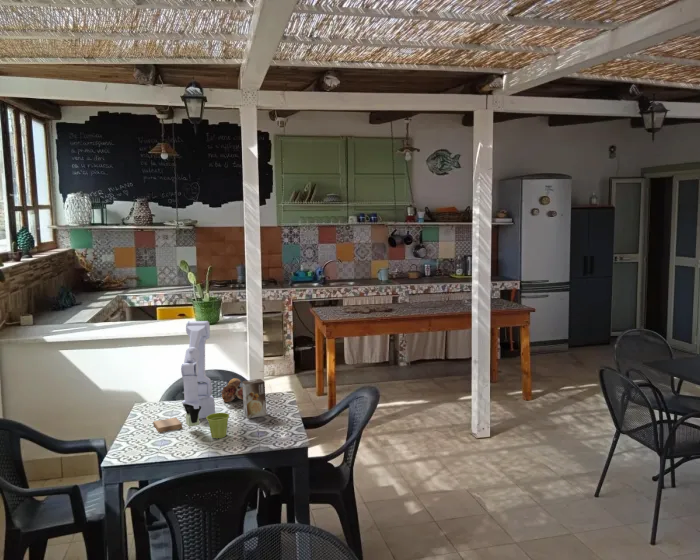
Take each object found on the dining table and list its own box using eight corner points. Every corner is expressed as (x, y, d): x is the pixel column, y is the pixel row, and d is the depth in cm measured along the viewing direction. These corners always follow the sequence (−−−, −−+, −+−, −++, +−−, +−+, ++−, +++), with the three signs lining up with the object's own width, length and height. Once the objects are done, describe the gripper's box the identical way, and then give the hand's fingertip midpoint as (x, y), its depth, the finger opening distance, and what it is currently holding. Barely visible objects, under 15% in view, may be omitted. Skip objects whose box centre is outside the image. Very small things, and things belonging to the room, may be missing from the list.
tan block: (176, 422, 275) (176, 417, 275) (182, 429, 267) (181, 423, 266) (153, 426, 270) (153, 421, 270) (158, 433, 262) (158, 428, 261)
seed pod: (209, 393, 295) (238, 383, 295) (214, 377, 311) (241, 368, 310) (220, 415, 300) (249, 405, 299) (224, 399, 315) (251, 389, 314)
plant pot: (210, 442, 249) (209, 421, 248) (204, 435, 258) (203, 414, 257) (233, 437, 254) (232, 417, 253) (226, 431, 262) (225, 411, 261)
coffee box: (262, 411, 287) (261, 378, 285) (266, 415, 281) (265, 381, 279) (243, 414, 283) (242, 380, 281) (247, 418, 277) (245, 384, 275)
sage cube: (196, 422, 266) (195, 412, 265) (199, 424, 262) (198, 414, 262) (186, 424, 264) (185, 414, 263) (189, 426, 260) (188, 416, 259)
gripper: (177, 387, 265) (178, 418, 267) (186, 395, 253) (188, 427, 255) (193, 385, 269) (194, 415, 270) (203, 392, 257) (204, 424, 258)
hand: (192, 420), depth 263 cm, fingers closed on sage cube, 4 cm apart
